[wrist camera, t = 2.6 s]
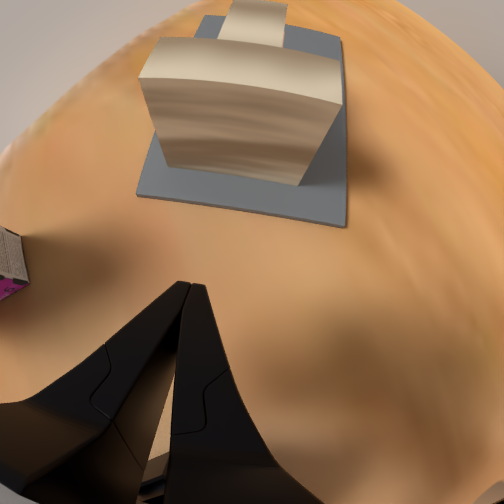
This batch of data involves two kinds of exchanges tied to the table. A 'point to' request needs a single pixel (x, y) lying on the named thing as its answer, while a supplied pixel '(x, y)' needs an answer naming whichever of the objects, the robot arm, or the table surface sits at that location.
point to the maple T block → (241, 98)
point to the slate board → (260, 191)
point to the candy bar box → (11, 263)
